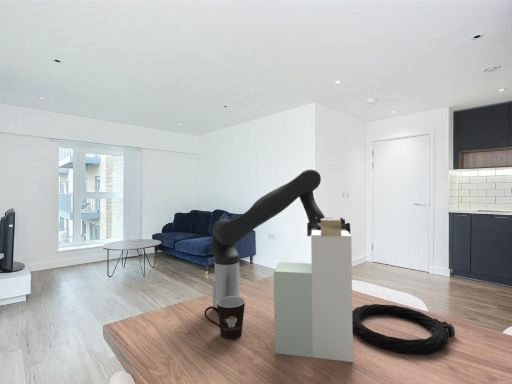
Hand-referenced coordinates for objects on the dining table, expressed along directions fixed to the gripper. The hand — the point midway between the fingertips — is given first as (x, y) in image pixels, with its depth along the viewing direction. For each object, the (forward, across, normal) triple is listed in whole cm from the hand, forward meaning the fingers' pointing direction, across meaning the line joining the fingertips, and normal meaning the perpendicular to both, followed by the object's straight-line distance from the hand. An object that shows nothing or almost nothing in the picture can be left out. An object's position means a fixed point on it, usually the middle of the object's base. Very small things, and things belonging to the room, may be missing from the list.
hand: (328, 220), depth 84 cm
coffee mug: (-12, -31, +33) cm, 47 cm away
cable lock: (-23, +21, +27) cm, 41 cm away
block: (+1, 0, +4) cm, 4 cm away
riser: (-10, -5, +34) cm, 36 cm away
